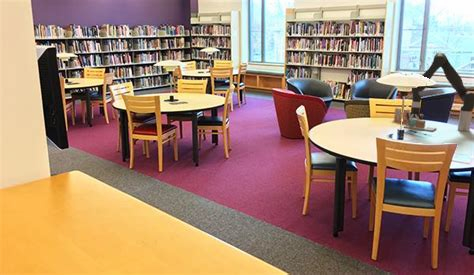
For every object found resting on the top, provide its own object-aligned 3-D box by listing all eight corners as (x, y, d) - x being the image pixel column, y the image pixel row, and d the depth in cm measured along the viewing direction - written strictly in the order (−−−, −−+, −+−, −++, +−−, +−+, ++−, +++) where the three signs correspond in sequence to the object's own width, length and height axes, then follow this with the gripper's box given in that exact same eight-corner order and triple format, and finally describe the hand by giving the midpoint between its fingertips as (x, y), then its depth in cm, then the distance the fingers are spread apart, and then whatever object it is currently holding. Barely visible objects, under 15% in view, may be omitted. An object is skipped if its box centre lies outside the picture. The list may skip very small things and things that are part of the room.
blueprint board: (407, 125, 374) (408, 124, 374) (436, 129, 360) (436, 127, 359) (403, 127, 365) (403, 126, 364) (432, 131, 350) (433, 130, 350)
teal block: (411, 124, 379) (411, 118, 377) (418, 125, 375) (418, 119, 374) (409, 125, 374) (410, 119, 373) (416, 126, 370) (417, 120, 369)
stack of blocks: (416, 124, 383) (418, 110, 380) (412, 124, 380) (413, 111, 378) (398, 119, 402) (399, 107, 399) (393, 120, 399) (395, 107, 396)
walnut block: (417, 126, 366) (418, 119, 365) (424, 127, 362) (425, 120, 361) (415, 127, 361) (416, 120, 360) (422, 128, 358) (423, 121, 356)
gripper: (425, 106, 369) (423, 125, 373) (408, 105, 378) (406, 123, 382) (423, 107, 363) (420, 126, 367) (406, 106, 372) (404, 124, 376)
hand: (413, 124), depth 374 cm, fingers closed on teal block, 6 cm apart
